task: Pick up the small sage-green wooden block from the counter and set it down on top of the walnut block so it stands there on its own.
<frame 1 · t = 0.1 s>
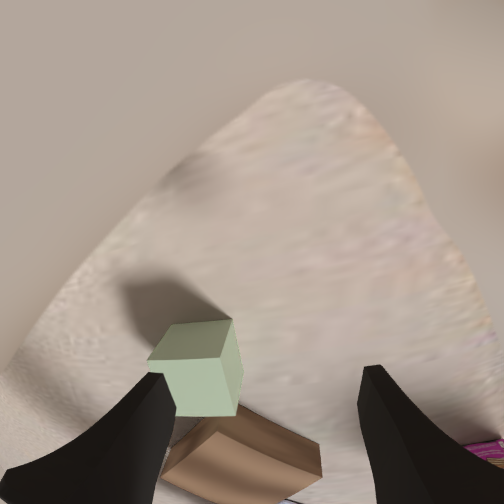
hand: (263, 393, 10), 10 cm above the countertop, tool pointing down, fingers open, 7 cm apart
candy bar box: (466, 453, 23), on the countertop
walnut block: (241, 450, 24), on the countertop
sage block: (208, 348, 22), on the countertop
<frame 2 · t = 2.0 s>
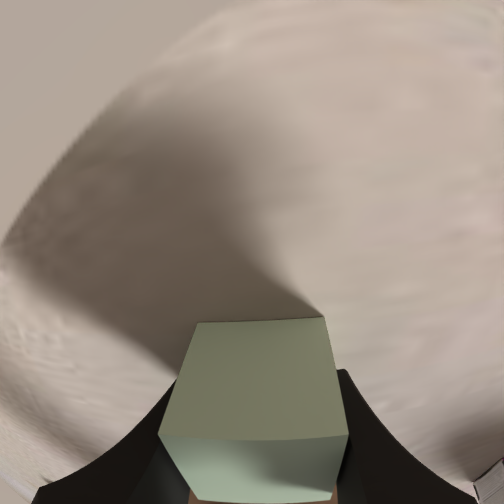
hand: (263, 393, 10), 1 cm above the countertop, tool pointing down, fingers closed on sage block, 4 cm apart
walnut block: (281, 485, 16), on the countertop
sage block: (264, 367, 11), on the countertop, touching gripper
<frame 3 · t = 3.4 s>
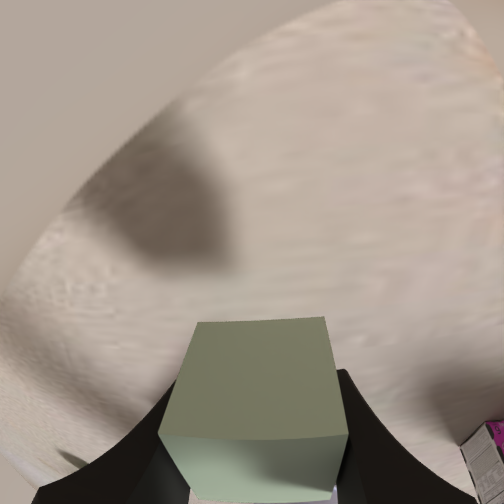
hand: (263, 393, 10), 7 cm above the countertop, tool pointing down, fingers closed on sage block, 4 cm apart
candy bar box: (496, 429, 22), on the countertop
sage block: (264, 366, 11), point 5 cm above the countertop, touching gripper
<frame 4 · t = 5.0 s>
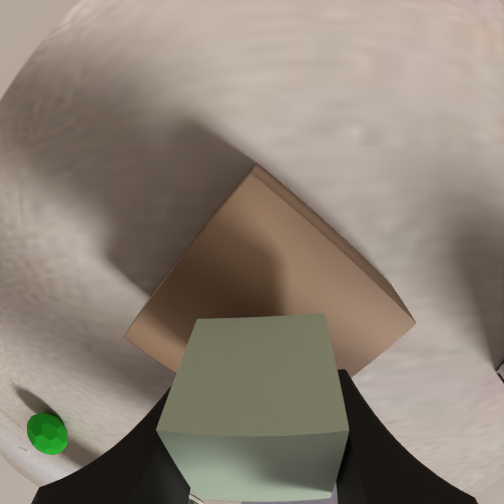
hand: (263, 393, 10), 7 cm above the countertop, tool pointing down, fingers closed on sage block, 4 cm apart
coffee can: (168, 496, 31), on the countertop
polyhedron: (56, 418, 26), on the countertop
walnut block: (268, 293, 17), on the countertop
sage block: (264, 364, 11), point 6 cm above the countertop, touching gripper
when the fingers open (7 cm above the countertop, at t = 5.9 s): sage block drops 1 cm, resting on walnut block.
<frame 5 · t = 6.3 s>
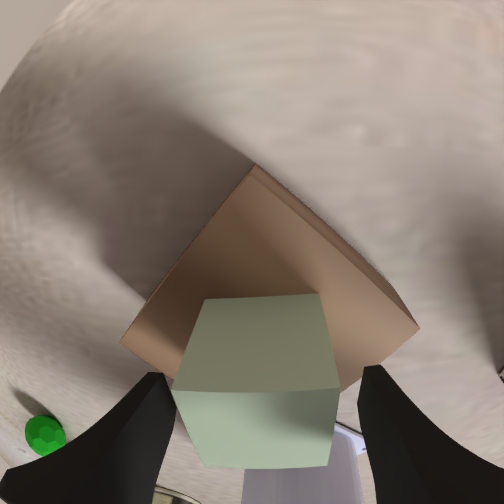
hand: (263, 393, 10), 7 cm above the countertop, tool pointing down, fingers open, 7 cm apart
coffee can: (167, 498, 30), on the countertop
polyhedron: (54, 420, 25), on the countertop
walnut block: (268, 297, 17), on the countertop
sage block: (265, 341, 13), point 4 cm above the countertop, touching walnut block
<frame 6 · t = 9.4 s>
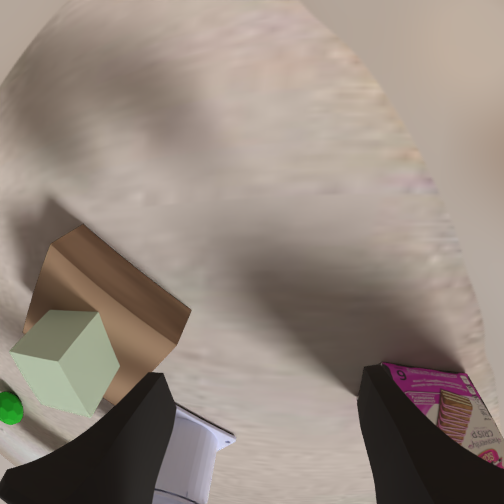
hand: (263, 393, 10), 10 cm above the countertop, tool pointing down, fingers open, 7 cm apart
candy bar box: (415, 383, 23), on the countertop
polyhedron: (16, 397, 31), on the countertop
walnut block: (108, 310, 22), on the countertop
sage block: (83, 338, 18), point 4 cm above the countertop, touching walnut block
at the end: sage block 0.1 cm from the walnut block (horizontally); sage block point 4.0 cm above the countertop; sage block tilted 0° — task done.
